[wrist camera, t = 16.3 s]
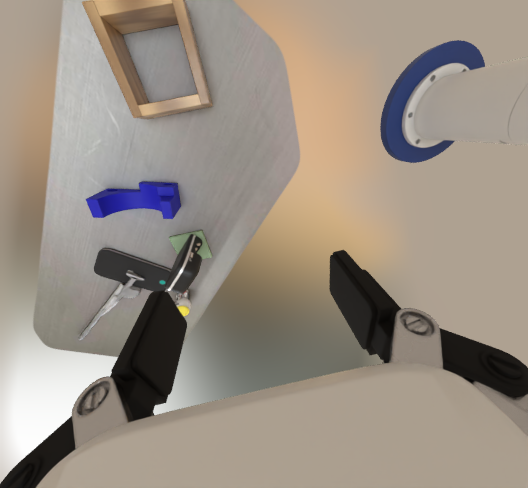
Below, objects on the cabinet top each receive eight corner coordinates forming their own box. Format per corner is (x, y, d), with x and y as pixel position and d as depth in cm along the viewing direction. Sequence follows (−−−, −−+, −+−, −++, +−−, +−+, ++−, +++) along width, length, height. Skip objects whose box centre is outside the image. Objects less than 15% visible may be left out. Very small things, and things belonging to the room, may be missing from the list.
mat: (202, 229, 41) (201, 230, 40) (212, 255, 45) (212, 257, 44) (169, 236, 41) (168, 238, 40) (182, 262, 44) (182, 263, 44)
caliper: (151, 272, 46) (127, 268, 42) (151, 281, 44) (126, 277, 41) (99, 333, 55) (76, 334, 52) (98, 342, 54) (74, 343, 50)
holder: (188, 8, 25) (178, -16, 20) (212, 106, 30) (209, 103, 26) (107, 23, 24) (81, 1, 20) (147, 119, 30) (133, 118, 26)
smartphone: (163, 294, 47) (91, 273, 42) (164, 292, 48) (94, 271, 42) (174, 273, 44) (99, 247, 39) (175, 270, 45) (101, 245, 39)
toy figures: (179, 284, 48) (170, 311, 40) (196, 289, 49) (190, 316, 42) (164, 314, 52) (154, 343, 45) (180, 318, 54) (173, 347, 47)
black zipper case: (193, 262, 44) (182, 300, 34) (177, 255, 43) (161, 293, 33) (208, 239, 42) (201, 274, 32) (191, 231, 40) (178, 264, 30)
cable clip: (177, 183, 35) (168, 192, 30) (180, 206, 38) (172, 218, 33) (104, 179, 33) (81, 189, 28) (112, 204, 36) (93, 217, 31)
